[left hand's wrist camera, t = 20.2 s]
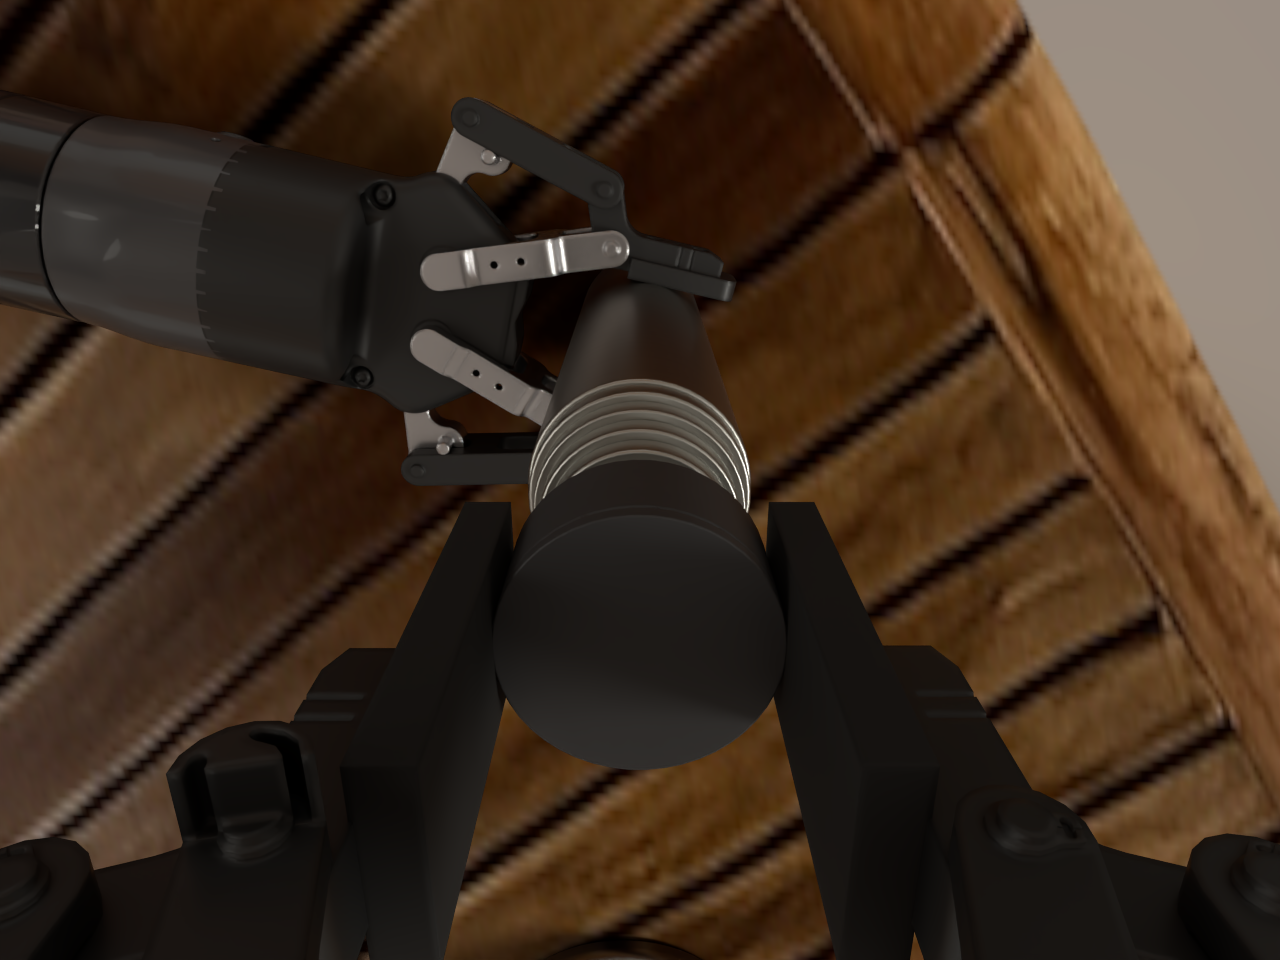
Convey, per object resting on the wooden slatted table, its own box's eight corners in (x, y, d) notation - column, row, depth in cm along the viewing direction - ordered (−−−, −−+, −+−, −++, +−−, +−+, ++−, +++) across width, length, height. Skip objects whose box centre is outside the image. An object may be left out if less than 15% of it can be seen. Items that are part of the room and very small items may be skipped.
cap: (711, 712, 16) (722, 801, 14) (482, 643, 15) (456, 724, 13) (807, 506, 14) (836, 571, 12) (557, 422, 14) (541, 474, 12)
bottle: (718, 296, 37) (860, 585, 13) (656, 389, 38) (682, 798, 15) (622, 233, 36) (587, 420, 12) (562, 330, 37) (428, 667, 14)
